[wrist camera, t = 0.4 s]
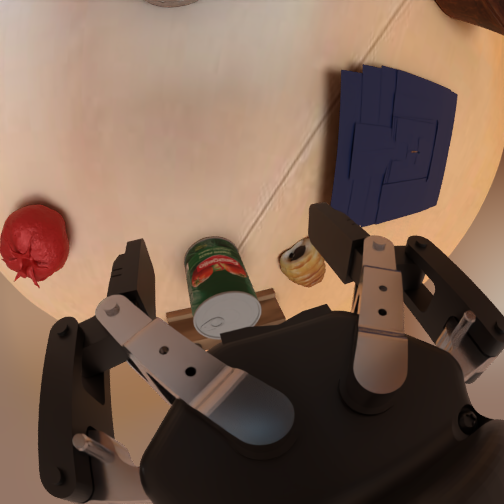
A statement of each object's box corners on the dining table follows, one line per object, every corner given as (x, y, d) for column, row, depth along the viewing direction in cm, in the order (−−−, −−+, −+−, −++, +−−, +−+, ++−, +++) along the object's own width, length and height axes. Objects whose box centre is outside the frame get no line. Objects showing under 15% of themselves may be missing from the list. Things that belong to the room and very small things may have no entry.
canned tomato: (223, 226, 36) (245, 280, 27) (247, 264, 41) (271, 320, 32) (173, 254, 36) (179, 315, 28) (201, 289, 41) (215, 347, 33)
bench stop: (166, 313, 42) (171, 359, 35) (272, 288, 45) (293, 328, 38) (178, 340, 47) (185, 383, 40) (272, 318, 50) (290, 356, 43)
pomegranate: (12, 191, 23) (-22, 228, 16) (76, 200, 28) (52, 241, 20) (18, 254, 28) (-6, 299, 21) (75, 264, 32) (60, 313, 25)
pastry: (328, 266, 47) (339, 280, 44) (297, 288, 48) (305, 303, 45) (308, 231, 41) (319, 246, 38) (271, 257, 42) (280, 273, 39)
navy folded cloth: (326, 54, 24) (346, 54, 22) (446, 89, 34) (461, 94, 31) (314, 228, 39) (329, 241, 36) (426, 200, 48) (439, 208, 45)
